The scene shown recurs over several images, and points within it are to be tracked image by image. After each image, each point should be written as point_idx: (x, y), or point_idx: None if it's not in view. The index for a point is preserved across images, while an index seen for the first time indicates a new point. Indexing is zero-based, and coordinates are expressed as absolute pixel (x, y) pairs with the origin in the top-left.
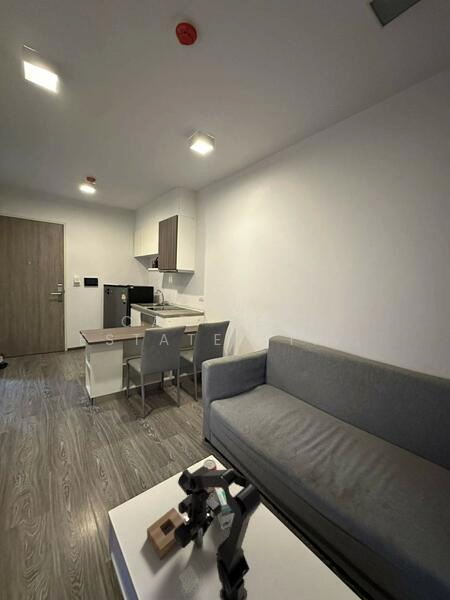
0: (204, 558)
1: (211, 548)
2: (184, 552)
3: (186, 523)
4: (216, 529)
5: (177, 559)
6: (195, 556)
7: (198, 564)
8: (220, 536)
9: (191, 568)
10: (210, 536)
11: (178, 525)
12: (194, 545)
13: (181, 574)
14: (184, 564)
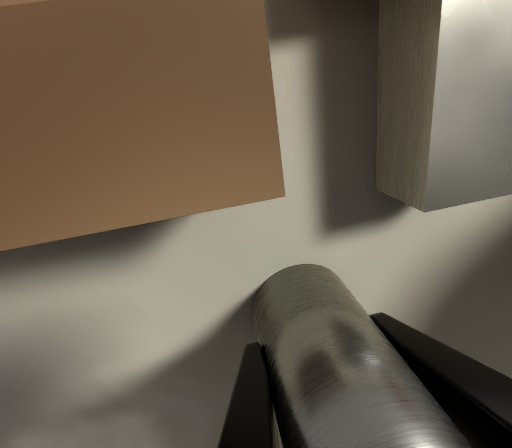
0: (275, 415)
1: None
2: (126, 310)
3: (277, 141)
4: (503, 285)
5: (24, 332)
6: (216, 380)
7: (211, 429)
8: (477, 345)
9: (143, 432)
10: (423, 308)
11: (26, 34)
12: (253, 312)
13: (38, 438)
14: (90, 392)
